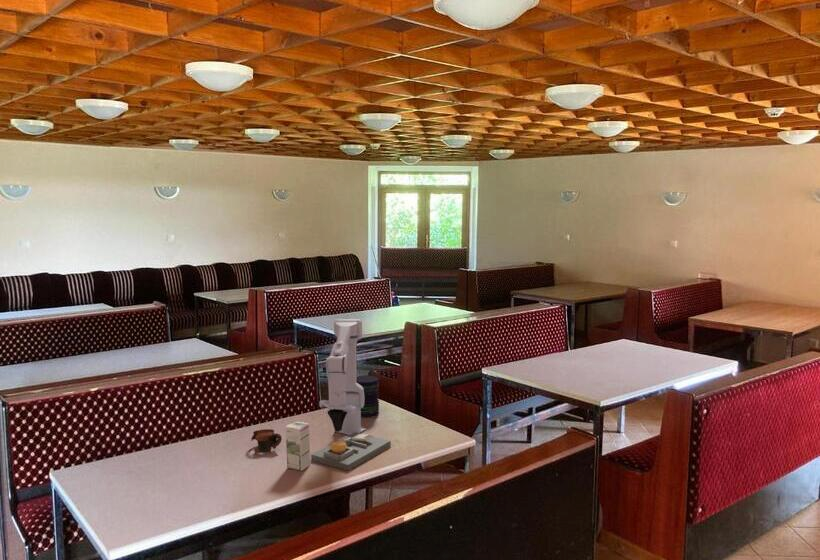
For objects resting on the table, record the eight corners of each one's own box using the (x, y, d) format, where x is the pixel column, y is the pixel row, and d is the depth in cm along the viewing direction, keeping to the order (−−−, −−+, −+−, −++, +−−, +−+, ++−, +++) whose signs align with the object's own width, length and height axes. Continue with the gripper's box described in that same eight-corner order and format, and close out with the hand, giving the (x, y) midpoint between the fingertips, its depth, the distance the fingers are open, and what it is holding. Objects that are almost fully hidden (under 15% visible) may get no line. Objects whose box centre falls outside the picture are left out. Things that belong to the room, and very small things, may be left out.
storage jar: (384, 412, 251) (383, 377, 249) (367, 419, 243) (367, 383, 242) (366, 408, 257) (365, 373, 255) (350, 414, 250) (349, 379, 248)
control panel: (311, 460, 205) (310, 450, 204) (355, 437, 225) (355, 428, 224) (348, 470, 196) (347, 460, 196) (390, 446, 216) (390, 436, 216)
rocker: (351, 440, 215) (351, 437, 215) (359, 436, 219) (359, 433, 218) (365, 440, 211) (365, 438, 211) (373, 436, 215) (372, 434, 215)
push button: (328, 450, 203) (328, 445, 203) (337, 445, 208) (337, 440, 207) (339, 453, 201) (339, 448, 200) (349, 448, 205) (349, 443, 205)
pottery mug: (245, 455, 211) (245, 431, 214) (260, 457, 219) (260, 434, 222) (276, 449, 208) (275, 425, 211) (290, 452, 216) (289, 428, 219)
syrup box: (311, 464, 201) (309, 422, 200) (300, 471, 196) (299, 428, 194) (296, 461, 204) (295, 420, 202) (286, 468, 198) (284, 426, 197)
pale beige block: (338, 445, 211) (338, 439, 211) (345, 442, 214) (344, 436, 214) (345, 447, 209) (345, 441, 209) (351, 444, 212) (351, 437, 212)
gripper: (312, 390, 202) (314, 429, 204) (346, 397, 194) (347, 438, 196) (326, 385, 208) (327, 423, 210) (360, 392, 200) (360, 431, 202)
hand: (338, 430), depth 203 cm, fingers closed
